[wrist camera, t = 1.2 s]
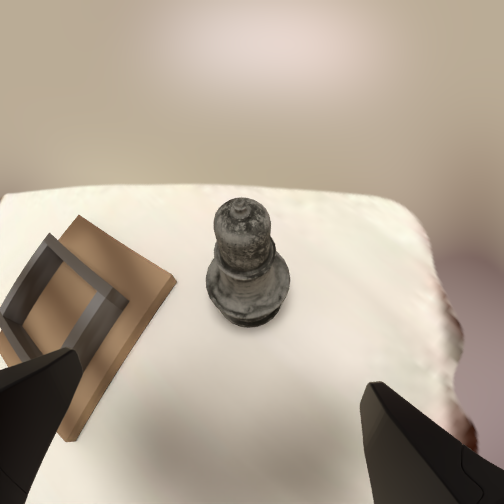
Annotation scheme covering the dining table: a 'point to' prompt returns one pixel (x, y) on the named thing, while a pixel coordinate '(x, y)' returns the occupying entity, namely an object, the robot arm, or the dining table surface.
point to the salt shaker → (246, 265)
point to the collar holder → (82, 309)
